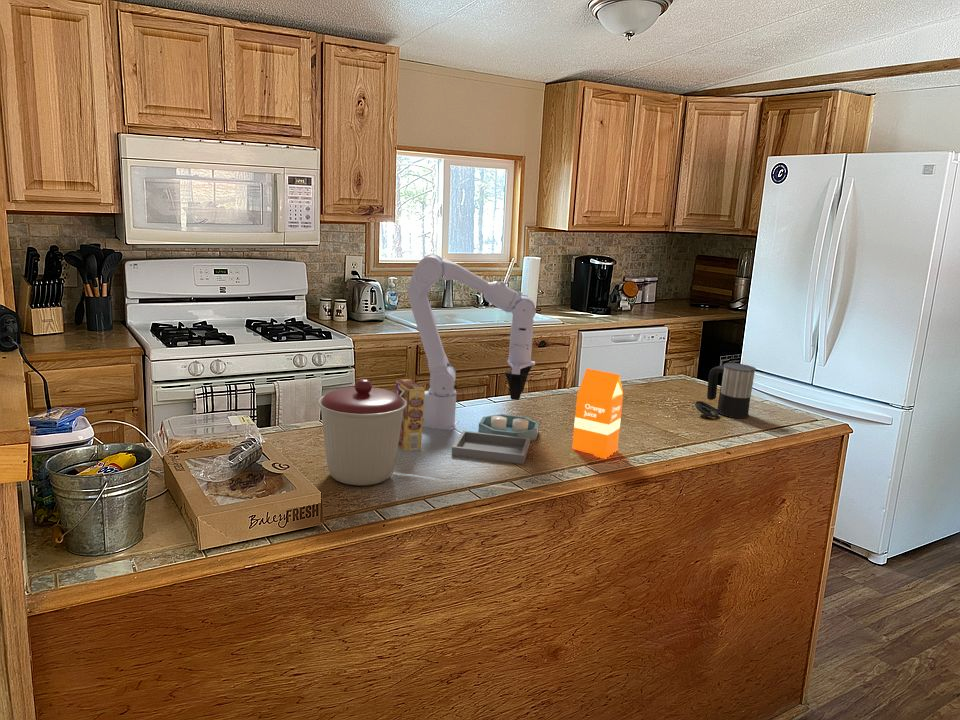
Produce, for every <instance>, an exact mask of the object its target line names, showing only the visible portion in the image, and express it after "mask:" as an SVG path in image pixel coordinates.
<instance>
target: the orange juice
mask: <svg viewBox="0 0 960 720" xmlns="http://www.w3.org/2000/svg"><path fill="white" fill-rule="evenodd" d="M576 394H577V395H576V404H575V405H576V406H575V415H574V416H575V417H574V424H573V437H572V447H571V448H572V450H575V451H579V452H583V453H587V454H591V455H594V457H595V456H596V457H595V458H599V457H600V459H603V458H604V459H603V460H607V459H608V458H609V457H610V455H611V456H612V455H613V453H614V452H615V453H617V452H618V446H619V436H620V428H621V419H622V410H623V401H624V391H623V386H622V380H621V374H619V373H612V372H608V371H601V370H595V369H591V368H586V369H585V372H584V375H583V378H582V380H581V383H580V386H579V388H578V392H577V393H576ZM616 451H617V452H616ZM615 453H614V454H615ZM607 457H608V458H607Z"/></svg>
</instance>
